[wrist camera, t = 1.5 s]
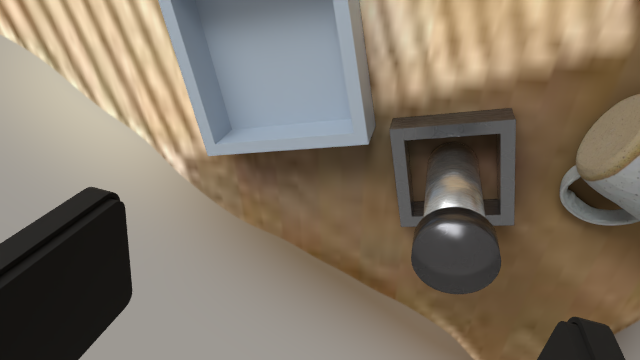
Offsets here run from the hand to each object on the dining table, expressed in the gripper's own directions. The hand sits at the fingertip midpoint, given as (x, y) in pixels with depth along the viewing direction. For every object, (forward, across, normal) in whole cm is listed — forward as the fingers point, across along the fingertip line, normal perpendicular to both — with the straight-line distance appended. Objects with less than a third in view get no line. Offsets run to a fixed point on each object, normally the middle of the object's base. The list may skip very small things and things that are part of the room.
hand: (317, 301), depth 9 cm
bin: (+28, +10, +2) cm, 29 cm away
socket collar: (+28, -6, +8) cm, 29 cm away
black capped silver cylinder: (+28, -6, +8) cm, 29 cm away
